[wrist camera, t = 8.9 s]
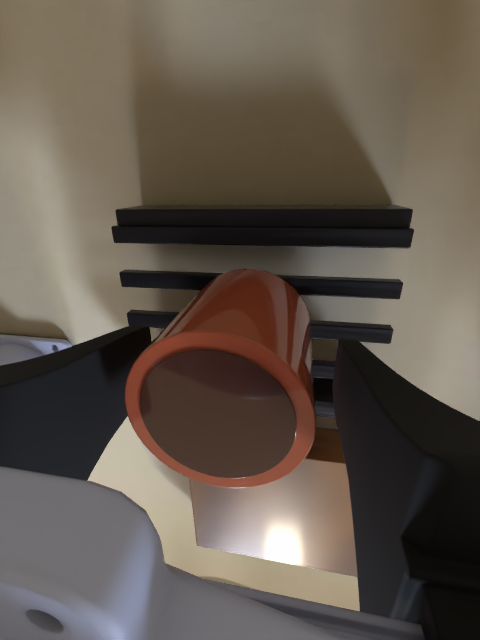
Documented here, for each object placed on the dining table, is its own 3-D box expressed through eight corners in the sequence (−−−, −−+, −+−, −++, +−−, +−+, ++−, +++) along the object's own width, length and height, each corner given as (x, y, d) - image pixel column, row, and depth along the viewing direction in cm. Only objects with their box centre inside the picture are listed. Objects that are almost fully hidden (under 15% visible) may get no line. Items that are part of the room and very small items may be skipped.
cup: (196, 372, 15) (138, 476, 10) (186, 266, 13) (106, 324, 8) (306, 383, 14) (308, 503, 9) (315, 270, 12) (326, 340, 7)
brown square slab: (206, 512, 25) (196, 546, 22) (197, 413, 20) (184, 441, 18) (364, 540, 22) (372, 580, 20) (390, 436, 18) (402, 471, 16)
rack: (163, 372, 20) (142, 403, 17) (141, 205, 16) (107, 210, 13) (362, 391, 18) (373, 429, 15) (395, 204, 14) (418, 210, 11)
